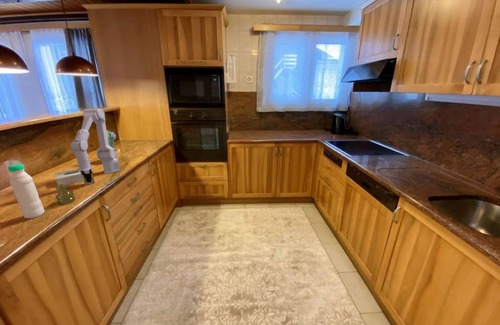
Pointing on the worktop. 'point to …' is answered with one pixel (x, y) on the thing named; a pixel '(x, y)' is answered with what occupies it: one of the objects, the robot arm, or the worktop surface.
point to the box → (69, 177)
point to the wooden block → (88, 182)
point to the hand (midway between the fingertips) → (89, 181)
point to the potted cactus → (111, 140)
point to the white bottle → (25, 192)
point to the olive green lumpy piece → (64, 195)
